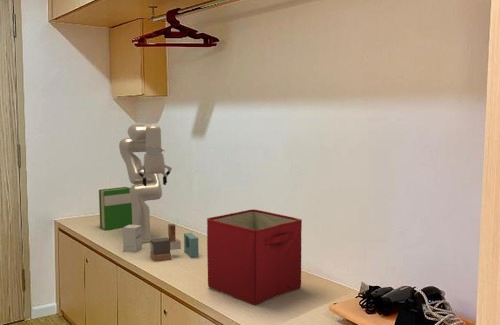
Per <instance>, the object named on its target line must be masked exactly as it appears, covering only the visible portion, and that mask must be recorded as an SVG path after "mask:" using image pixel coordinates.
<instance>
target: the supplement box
mask: <svg viewBox="0 0 500 325" xmlns="http://www.w3.org/2000/svg"><path fill="white" fill-rule="evenodd" d="M142 244H143V243H142V234H141V225H127V226H125V227H123V228H122V252H126V253H137V252H138V251H140V250H142V248H143V247H142V246H143V245H142Z"/></svg>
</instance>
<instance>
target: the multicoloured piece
mask: <svg viewBox="0 0 500 325" xmlns="http://www.w3.org/2000/svg"><path fill="white" fill-rule="evenodd" d="M167 228H168V232H167V234H168V235H167V236H168V237H167V238H168V239H169V240H170V251H173V250H174V251H175V250H181V249H182V248H181V247H182V246H181V245H182V243H181V240H180V238H176V225H175V224H174V223H168V224H167ZM149 243H150V245H149V246H150V251H152V252H154V250H153V242H151V241H150V242H149Z"/></svg>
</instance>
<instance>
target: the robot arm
mask: <svg viewBox="0 0 500 325" xmlns="http://www.w3.org/2000/svg"><path fill="white" fill-rule="evenodd" d="M127 135H128V136H129V137H125V138H122V139H121V140H120V141H119V147H118V148H119V153H120V156H121V158H122V160H123V161H124V164H125V165H126V166H125V167H126V171H127V174H128V179H129V182H130V183H131V186H130V187H129V188H130V198H131V205H132V225H141V234H142V244H144V243H150V242H151V239H154V237H153V236H151V221H150V220H151V216H150V207H149V205H148V204H147V203H146V202H147V201H156V200H160V199H161V198H162V196H163V189H162V185H164V186H166V185H167V183H168V179H167V177H168V176H169V175H170V174H171V172H172V169H173V168H172V167H170V166H169V165H166V164H165V158H164V153H162V152H165V148H164V147H162V130H161V127H160V126H158V125H152V124H151V123H133V124H132V125H130V126H129V127H128V128H127ZM135 153H145V154H144V156H143V163H142V160H141V159H140V157H138V156H137V155H136V154H135ZM166 170H167V171H166ZM159 175H163V176H162V184H161V181H160V176H159Z"/></svg>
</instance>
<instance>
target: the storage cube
mask: <svg viewBox="0 0 500 325" xmlns="http://www.w3.org/2000/svg"><path fill="white" fill-rule="evenodd" d="M302 220H303V219H301V218H298V217H294V216H289V215H284V214H278V213H274V212H269V211H264V210H260V209H248V210H247V209H246V210H242V211H238V212H231V213H227V214H222V215H216V216H213V217H207V218H206V224H207V226H206V228H207V229H206V231H207V232H206V236H207V237H206V243H207V244H206V245H207V246H206V248H207V249H206V250H207V252H206V253H207V286H208V288H210V289H213V290H215V291H217V292H220V293H224V294H226V295H228V296H231V297H232V298H233V297H234V298H236V299H238V300H240V301H242V302H243V301H244V302H246V303H248V304H251V305H252V306H256V305H258V304H260V303H262V302H265V301H268V300H270V299H273V298H276V297H278V296H281V295H284V294H286V293H290V292H293V291H296V290H299V289H300V288H301V287H302V228H303V226H302Z"/></svg>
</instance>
